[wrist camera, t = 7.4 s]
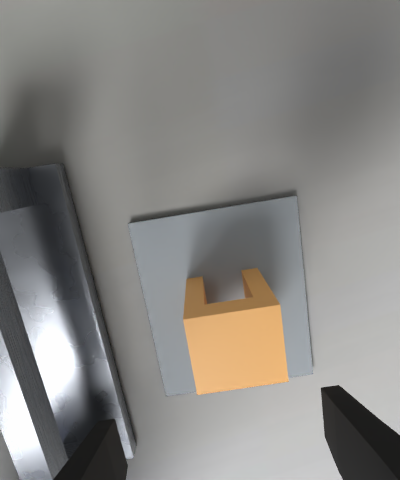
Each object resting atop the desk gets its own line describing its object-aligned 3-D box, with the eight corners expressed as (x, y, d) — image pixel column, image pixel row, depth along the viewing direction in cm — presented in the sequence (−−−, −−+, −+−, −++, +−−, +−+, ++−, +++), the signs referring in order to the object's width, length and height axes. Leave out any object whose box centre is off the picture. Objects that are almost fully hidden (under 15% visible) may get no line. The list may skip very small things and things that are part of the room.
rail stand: (136, 445, 22) (108, 571, 15) (55, 457, 22) (-9, 588, 15) (63, 163, 17) (-25, 160, 11) (-39, 181, 18) (-190, 188, 11)
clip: (264, 326, 20) (288, 381, 14) (196, 336, 20) (197, 395, 15) (257, 267, 19) (280, 304, 14) (186, 278, 19) (183, 319, 14)
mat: (310, 370, 21) (313, 374, 20) (166, 392, 21) (166, 396, 21) (294, 195, 18) (296, 196, 18) (129, 222, 18) (127, 224, 18)
